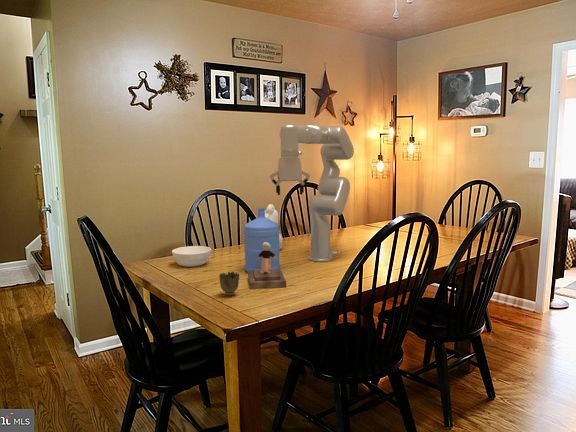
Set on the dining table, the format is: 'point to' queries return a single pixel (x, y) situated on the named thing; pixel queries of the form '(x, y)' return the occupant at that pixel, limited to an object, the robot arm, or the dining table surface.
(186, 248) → the bowl
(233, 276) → the cup
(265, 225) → the water jug
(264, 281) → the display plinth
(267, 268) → the grandmother figurine
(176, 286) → the dining table surface
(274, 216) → the decorative rooster
